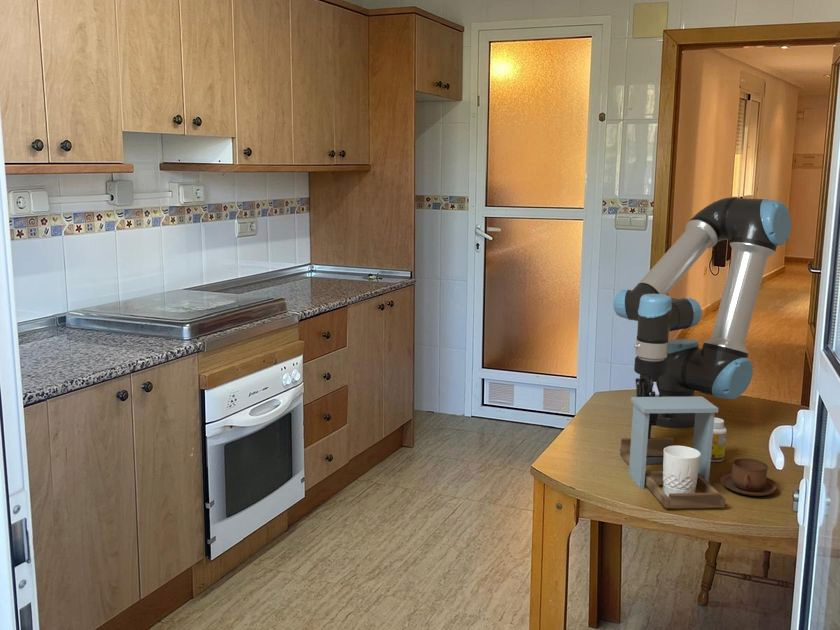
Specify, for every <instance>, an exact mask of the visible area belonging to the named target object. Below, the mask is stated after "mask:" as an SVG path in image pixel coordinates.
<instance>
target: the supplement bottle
mask: <svg viewBox="0 0 840 630" xmlns="http://www.w3.org/2000/svg"><path fill="white" fill-rule="evenodd" d="M727 432H728V431H727V428H726V427H725V420H724V419H723V418H720V417H714V429H713V440H712V451H711V462H712V463H721V462H722V461H723V460H724V459H725V453H726V442H727V441H726V440H727Z"/></svg>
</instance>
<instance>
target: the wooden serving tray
mask: <svg viewBox="0 0 840 630" xmlns="http://www.w3.org/2000/svg"><path fill="white" fill-rule="evenodd" d="M674 442H675V439H674V438H673V437H651V438H648V442H647V455H646V456H663V452H664V448H665V447H668V446H675V443H674ZM630 446H631V437H623V438H622V437H621V439H620V449H619V452H620V453H619V455H620V457H621V458H623V460H624V461H625V462H626V463H627V465H629V461H630ZM644 485H645V486H646V487H647V488H648V489H649V490H650V492H651V493H652V494H653V495H654V496H655V498H656V499H657V500H658V501H659V502H660V504H661V505H662V506H663V507H664V508H665V509H687V508H688V509H690V508H692V509H695V508H697V509H700V508H725V507H726V498H725V497H724V496H723V495H722V494H721V493H720V492H719V491H718V490H716V488H715V487H713V485H712V484H711V483H710V482H709V483H708V482H707V481H706V480H705V479H704V478H703V477H702V476H701V475H700V474H699V473H698V478H697V484H696V485H697V486H698V487H700V488H701V489H702V490H703V492H695V493H669V497H668V496H667V495H666V494H665V493H664V492H663V489H662V488H661V487H660V486H663V470H660V471H659V470H658V471H649V473H648V472H647V471H646V470H645V483H644Z"/></svg>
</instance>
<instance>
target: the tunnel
mask: <svg viewBox="0 0 840 630" xmlns="http://www.w3.org/2000/svg"><path fill="white" fill-rule="evenodd" d="M630 402H631V403H632V419H631V431H630V434H631V435H630V438H631V446H630V461H629V464H628V476H629V477H630V479H631V480H632V481H633V482H634V483H635V484H636V486H637V487H638V488H639V489H640V490H641V489H643V490H644V489H645V471H646V469H647V465H646V455H647V442H648V428H649V414H650V413H695V424H694V426H693V436H692V437H693V438H692V448H694V449H696V450H698V451H699V452H700V453H701V457H700V464H699V472H698V473H699V474H700V475H701V476H702V477H703V478H704V479H705V480H706V481H707V482H708V483H709V484H710V472H711V451H712V440H713V429H714V417H715V414H718V413H719V407H718V406H717V405H715V404H713V403H712V402H710V401H709V400H708V399H706V398H705V397H703V396H700V395H699V396H695V397H636V396H631V397H630ZM715 418H716V417H715Z"/></svg>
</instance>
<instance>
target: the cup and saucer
mask: <svg viewBox="0 0 840 630" xmlns="http://www.w3.org/2000/svg"><path fill="white" fill-rule="evenodd" d="M768 467H769V466H768V465H767V463H765V462H763V461H761V460H758V459H753V458H747V457H746V458H745V457H744V458H743V457H742V458H736V459H734V460H732V471H730V472H729V471H728V472H726V473H723V474H722V475H721V476H720V482H721V484H722V485H723V486H724V487H725V488H727V489H728V490H729V491H732V492H735V493H737V494H740V495H746V496H751V497H763V496H768V495H771V494H773V493H774V492H775V491H776V490H777V487H778V484H777V482H775V481H774V480H773V479H771V478H769V477H767V476H768V474H767V473H768V469H769V468H768Z"/></svg>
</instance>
